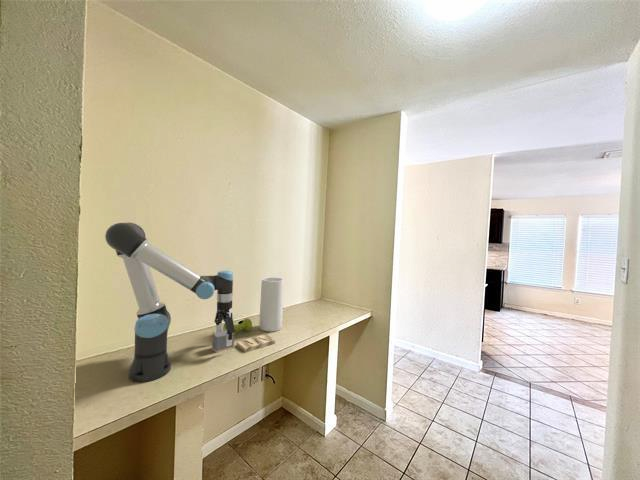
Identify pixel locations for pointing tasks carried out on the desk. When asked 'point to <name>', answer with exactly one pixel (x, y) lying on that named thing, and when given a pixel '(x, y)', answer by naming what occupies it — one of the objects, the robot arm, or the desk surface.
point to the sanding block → (221, 341)
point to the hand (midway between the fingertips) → (223, 340)
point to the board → (255, 343)
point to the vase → (271, 304)
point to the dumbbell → (242, 325)
